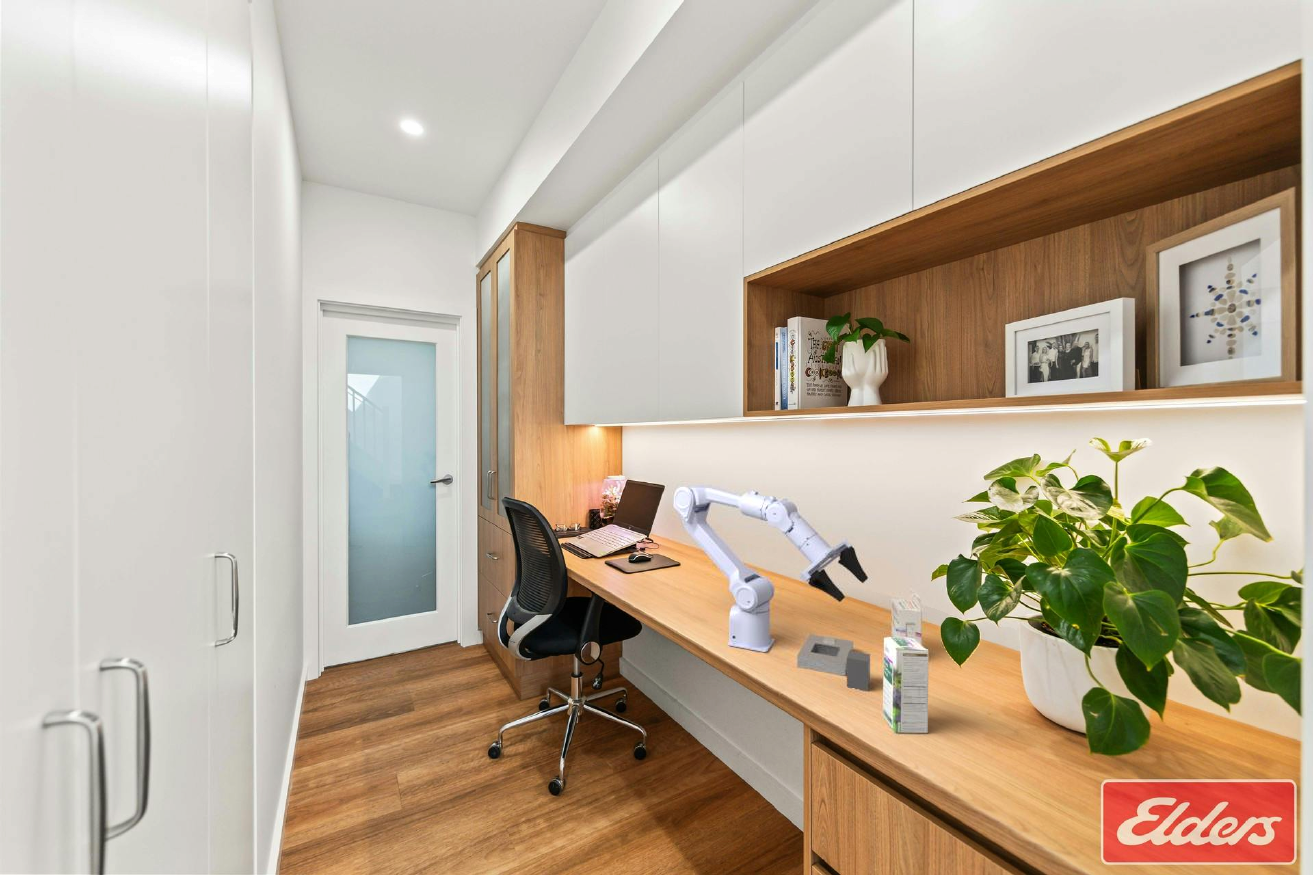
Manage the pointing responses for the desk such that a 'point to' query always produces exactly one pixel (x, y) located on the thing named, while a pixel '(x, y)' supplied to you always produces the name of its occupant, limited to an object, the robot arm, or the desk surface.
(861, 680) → the plug
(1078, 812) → the desk surface
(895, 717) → the syrup box
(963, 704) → the desk surface
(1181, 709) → the desk surface
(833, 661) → the socket plate
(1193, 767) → the desk surface
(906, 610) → the ink cartridge box
